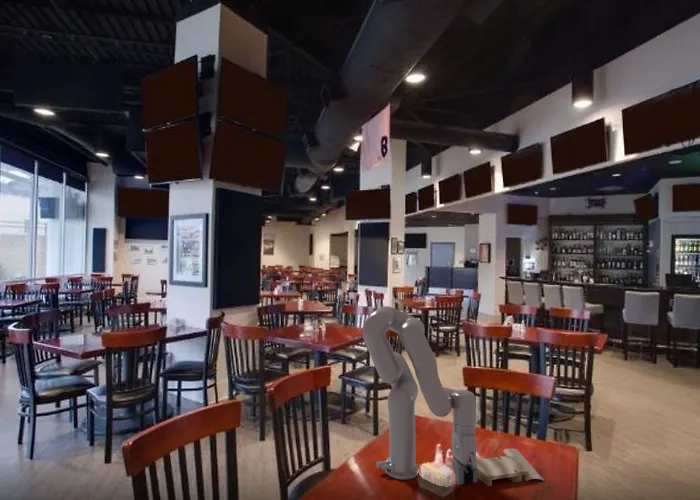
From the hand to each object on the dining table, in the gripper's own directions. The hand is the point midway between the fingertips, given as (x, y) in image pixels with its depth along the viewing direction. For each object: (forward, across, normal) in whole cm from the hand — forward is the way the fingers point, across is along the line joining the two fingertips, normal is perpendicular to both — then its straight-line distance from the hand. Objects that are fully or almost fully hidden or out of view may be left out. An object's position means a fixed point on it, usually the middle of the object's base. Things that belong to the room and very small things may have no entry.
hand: (464, 478), depth 157 cm
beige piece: (+2, -4, +25) cm, 26 cm away
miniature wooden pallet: (0, 0, +14) cm, 14 cm away
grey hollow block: (+1, 0, 0) cm, 1 cm away
